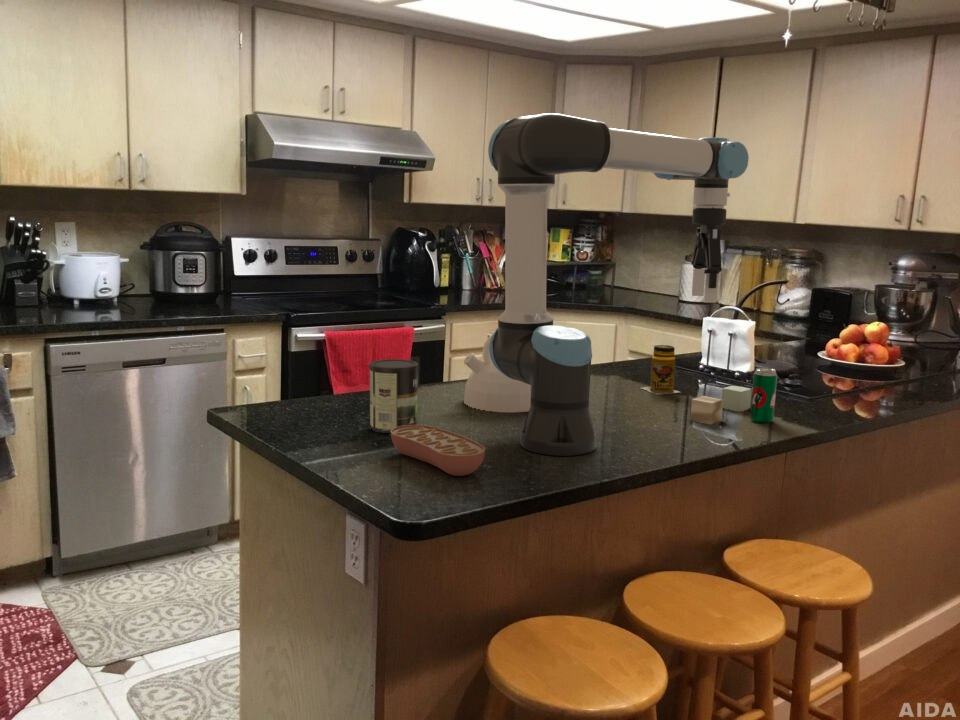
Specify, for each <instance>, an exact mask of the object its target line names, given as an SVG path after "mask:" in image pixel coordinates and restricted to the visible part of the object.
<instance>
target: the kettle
mask: <svg viewBox="0 0 960 720" xmlns="http://www.w3.org/2000/svg"><path fill="white" fill-rule="evenodd" d="M491 337H492V334H491V335H489V337H488V338H487V340H486V341H485V342H484V345H483V347H482V355H481V357H482V359H480V358H479V357H478V356H476V355H475V353H474V352H471V353H468V354H467V355H466V356H465V358H464V360H463V364H464V365H466V366H467V367H468V368H469V369H470V370H471V372H470V374H469V376H468V379H467V381H466V383H465V386H464V393H463V394H464V395H463V400H464V402H463V403H464V405H465V404H466V405H465V406H467V405H468V406H467V407H469V406H470V407H469V408H471V407H472V408H471V409H474V408H476V409H475V410H478V409H480V410H479V411H483V410H485V411H484V412H489V411H492V413H504V414H505V413H506V414H507V413H508V414H511V413H514V414H515V413H528V412H529V409H530V401H531V385H529V384H526V383H524V382H521V381H518V380H514V379H511V378H509V377H507V376H506V375H505V374H503V373H501V372H500V371H499V370H498V369H497V368H496V367H495V366H494V364H493V362H492V360H491V358H490V354H489V343H490V339H491Z"/></svg>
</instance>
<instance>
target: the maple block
mask: <svg viewBox="0 0 960 720" xmlns="http://www.w3.org/2000/svg"><path fill="white" fill-rule="evenodd" d="M722 405H723V400H722V398H717V397H710V396H706V395H701V396H698V397H695V398H692V399H691V406H690V407H691V408H690V420H689V421H693V422H697V423H702V424H705V423H706V424H707V425H710V424H711V425H713V424H716V423H719V422H722V417H723V416H722V415H723V408H722ZM718 421H719V422H718Z"/></svg>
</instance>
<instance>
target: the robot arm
mask: <svg viewBox="0 0 960 720" xmlns="http://www.w3.org/2000/svg"><path fill="white" fill-rule="evenodd" d="M487 149H488V150H487V151H488V152H487V153H488V159H489V162H490V164H491V166H492V167H493V169H494V170H495V172H497V186H498V187H499V188H500V190H501V191H502V192H503V193H504V195H505V206H504V207H505V211H504V212H505V213H504V216H505V217H504V218H505V221H504V223H505V224H504V227H505V230H504V231H505V235H504V236H505V237H504V239H505V242H504V243H505V245H504V247H505V250H504V251H505V253H504V254H505V257H504V258H505V260H504V261H505V264H504V265H505V268H504V269H505V270H504V271H505V272H504V273H505V274H504V275H505V277H504V280H505V282H504V285H505V287H504V292H505V294H504V296H505V299H504V300H505V301H504V304H505V305H504V306H505V310H503V312H502V313H501V314H500V315H499V316H498V319H497V328H495V330H494V333H492V334H491V335H492V337H491V339H490V343H489V354H490V358H491V360H492V362H493V364H494V366H495V367H496V368H497V369H498V370H499V371H500V372H501V373H503V374H505V375H506V376H507V377H509V378H511V379H514V380H518V381H521V382H524V383H526V384H529V385H531V401H530V409H529V412H527V415H526V417H525V420H524V423H523V427H522V429H521V431H520V443H519V444H520V446H521V447H522V448H524V449H525V450H527V451H530V452H532V453H537V454H541V455H547V456H556V457H557V456H559V457H560V456H563V457H564V456H565V457H566V456H567V457H569V456H580V455H586V454H589V453H591V452H593V451H595V450H596V447H597V435H596V433H595V429H594V425H593V420H592V417H591V413H590V408H589V407H590V391H591V389H590V388H591V370H592V359H593V349H592V340H591V338H590V336H589V334H587V333H586V332H584V331H582V330H580V329H577V328H574V327H567V326H564V325H555V324H554V317H553V316H552V315H551V314H550V313H549V311H547V272H548V271H547V268H548V267H547V265H548V264H547V250H548V241H547V240H548V236H547V235H548V194H549V192H550V191H552V189H553V188H554V187H555V186H556V175H561V174H570V173H583V172H584V173H585V172H586V173H598V172H600V171H602V170H603V169H609V170H610V169H611V170H620V171H621V170H623V171H631V172H644V173H653V175H654V176H655V177H656V178H658V179H660V180H667V181H671V180H673V181H679V180H680V181H685V180H686V181H690V180H691V181H694V184H693V185H694V186H693V187H694V188H693V198H692V200H693V203H692V205H693V206H695V207H694V208H693V209H692V219H691V220H692V221H691V222H692V225H700V227H696V233H695V234H696V235H695V242H694V246H693V253H692V258H691V266H692V268H693V270H692V285H691V297H703V303H707V304H710V303H713V304H714V303H715V304H716V303H718V302H717V301H718V299H717V298H718V288H719V275H720V272H722V270H723V267H722V250H721V249H722V248H721V235H722V234H721V233H722V229H720V228H717V226H724V225H725V224H726V223H727V208H725V207H727V203H728V198H729V197H730V196H731V194H730V192H728V190H729V180H730V179H737V178H740V176H741V177H742V175H743V174H745V172H746V171H747V169H748V165H749V158H750V156H749V153H748V149H747V147H746V145H744V144H743V143H742V142H740V141H731V140H730V139H729V138H727V137H726V138H725V137H701V138H692V137H691V138H689V137H683V136H674V135H667V134H660V133H651V132H644V131H643V132H642V131H636V130H627V129H621V128H620V129H618V128H612V127H609V125H608V124H606V123H605V122H604V121H602V120H601V121H600V120H593V119H588V118H582V117H577V116H572V115H566V114H562V113H556V112H555V113H553V112H552V113H551V112H548V113H547V112H546V113H540V114H532V115H525V116H523V115H522V116H516V117H514V118H511V119H508V120H506V121H504V122H502V123H501V124H499V125H498V127H497V128H496V129H495V130H494V131H493V133H492V134H491V137H490V139H489V142H488V148H487Z"/></svg>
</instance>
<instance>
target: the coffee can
mask: <svg viewBox="0 0 960 720" xmlns="http://www.w3.org/2000/svg"><path fill="white" fill-rule="evenodd" d="M368 368H369V403H370V404H369V419H370V421H369V423H370V424H369V425H371V427H373V428H375V429H378V430H382V431H390V432H391V430H392V429H393V428H395V427H399V426H404V425H418V373H419V372H418V370H419V369H418V368H419V363H418V362H417V361H414V360H411V359H403V358H402V359H397V358H393V359H392V358H390V359H387V358H386V359H380V360H373V361H370V362H369V363H368Z"/></svg>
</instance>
